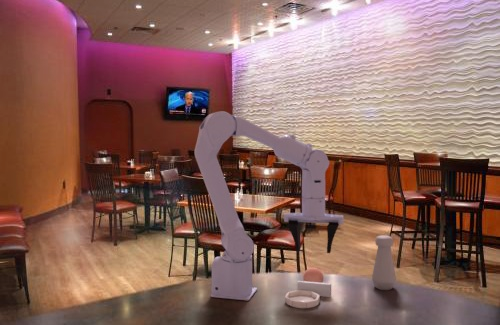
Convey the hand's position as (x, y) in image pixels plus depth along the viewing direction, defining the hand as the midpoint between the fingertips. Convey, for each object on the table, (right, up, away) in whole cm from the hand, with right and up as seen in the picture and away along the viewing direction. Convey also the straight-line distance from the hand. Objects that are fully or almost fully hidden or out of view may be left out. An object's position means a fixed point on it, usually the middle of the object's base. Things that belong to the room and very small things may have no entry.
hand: (313, 251), depth 116 cm
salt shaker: (+18, -9, 0) cm, 20 cm away
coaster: (-4, -10, -9) cm, 14 cm away
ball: (0, -9, +1) cm, 9 cm away
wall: (0, -10, -5) cm, 11 cm away
